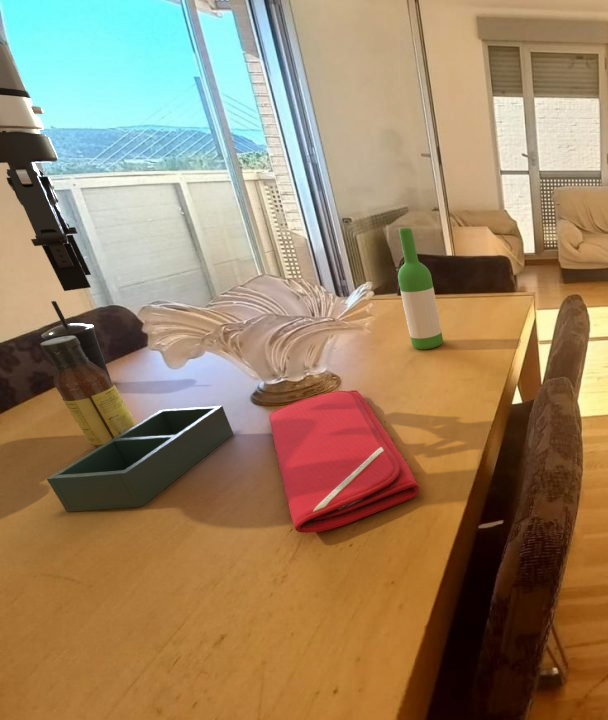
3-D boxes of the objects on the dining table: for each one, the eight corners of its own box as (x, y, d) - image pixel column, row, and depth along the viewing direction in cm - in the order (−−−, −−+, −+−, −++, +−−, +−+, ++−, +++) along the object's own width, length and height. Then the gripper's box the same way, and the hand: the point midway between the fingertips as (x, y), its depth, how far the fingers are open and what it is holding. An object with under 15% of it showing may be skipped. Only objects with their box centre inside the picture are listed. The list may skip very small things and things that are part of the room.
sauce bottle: (142, 430, 88) (92, 329, 80) (143, 442, 84) (90, 337, 76) (92, 444, 84) (34, 339, 76) (90, 458, 80) (29, 349, 72)
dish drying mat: (361, 396, 98) (357, 380, 97) (424, 494, 68) (419, 473, 67) (270, 422, 89) (264, 404, 88) (297, 547, 60) (288, 524, 58)
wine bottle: (442, 338, 130) (421, 225, 118) (444, 347, 123) (423, 229, 111) (412, 343, 127) (387, 228, 115) (413, 352, 120) (387, 232, 109)
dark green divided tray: (66, 512, 67) (45, 478, 65) (174, 437, 85) (161, 409, 83) (142, 506, 68) (125, 473, 66) (233, 433, 86) (222, 405, 83)
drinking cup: (102, 379, 110) (60, 296, 102) (130, 380, 109) (90, 296, 101) (62, 394, 103) (14, 306, 95) (92, 396, 102) (45, 306, 94)
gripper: (40, 127, 60) (114, 289, 69) (51, 136, 76) (110, 267, 85) (-56, 125, 55) (36, 301, 64) (-23, 136, 71) (47, 275, 80)
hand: (78, 282), depth 74 cm, fingers open, 13 cm apart
